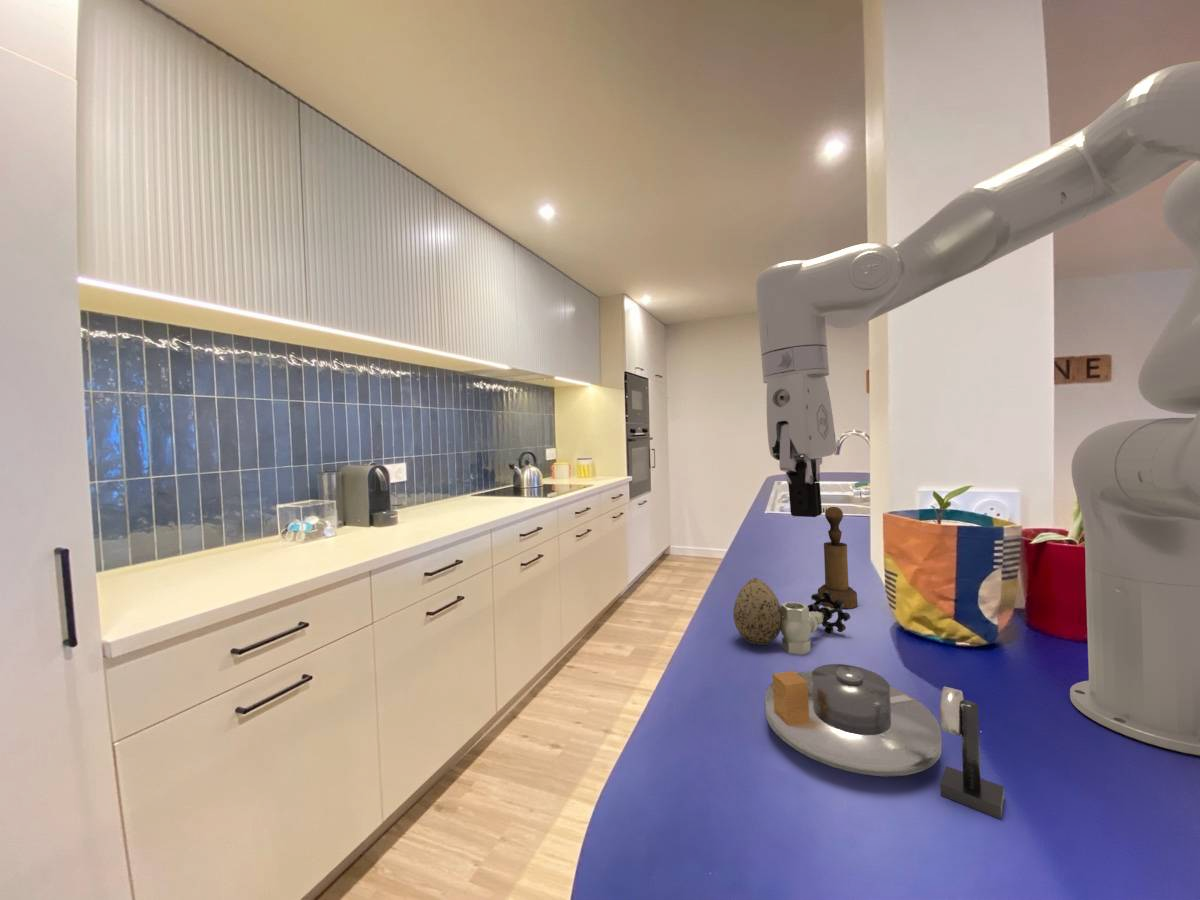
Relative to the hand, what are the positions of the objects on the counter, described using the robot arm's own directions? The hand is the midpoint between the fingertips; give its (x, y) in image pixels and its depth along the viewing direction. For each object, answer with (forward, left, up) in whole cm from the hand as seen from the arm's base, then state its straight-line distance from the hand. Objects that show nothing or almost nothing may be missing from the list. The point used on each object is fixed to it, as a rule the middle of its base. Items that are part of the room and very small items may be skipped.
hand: (806, 515), depth 58 cm
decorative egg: (+11, -9, -22) cm, 26 cm away
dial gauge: (-17, +9, -22) cm, 29 cm away
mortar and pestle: (+8, -34, -22) cm, 41 cm away
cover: (-7, +8, -19) cm, 21 cm away
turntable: (-6, +7, -20) cm, 22 cm away
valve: (+5, -14, -22) cm, 27 cm away
